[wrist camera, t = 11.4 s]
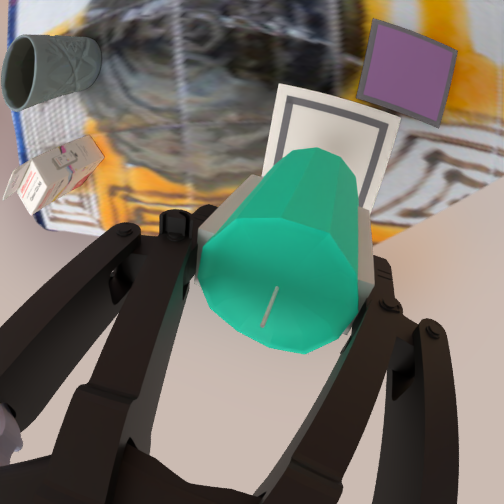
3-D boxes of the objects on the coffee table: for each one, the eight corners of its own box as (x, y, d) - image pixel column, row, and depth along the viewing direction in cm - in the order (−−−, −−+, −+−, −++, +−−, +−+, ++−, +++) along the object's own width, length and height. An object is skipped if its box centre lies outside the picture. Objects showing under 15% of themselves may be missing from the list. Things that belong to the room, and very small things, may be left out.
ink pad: (454, 51, 20) (458, 50, 19) (436, 126, 25) (439, 129, 24) (372, 20, 21) (373, 17, 20) (355, 97, 26) (356, 98, 25)
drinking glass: (74, 105, 36) (12, 125, 27) (56, 57, 32) (-5, 69, 23) (114, 69, 32) (44, 80, 22) (93, 17, 28) (25, 19, 18)
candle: (371, 218, 19) (378, 370, 9) (290, 243, 22) (232, 385, 12) (336, 132, 17) (315, 211, 7) (251, 168, 19) (145, 271, 10)
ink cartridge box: (82, 186, 44) (16, 227, 32) (68, 163, 43) (0, 200, 31) (106, 157, 40) (29, 197, 28) (90, 132, 38) (11, 166, 26)
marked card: (400, 117, 26) (401, 117, 26) (365, 224, 33) (365, 226, 33) (279, 83, 28) (278, 83, 28) (259, 192, 35) (258, 193, 35)
